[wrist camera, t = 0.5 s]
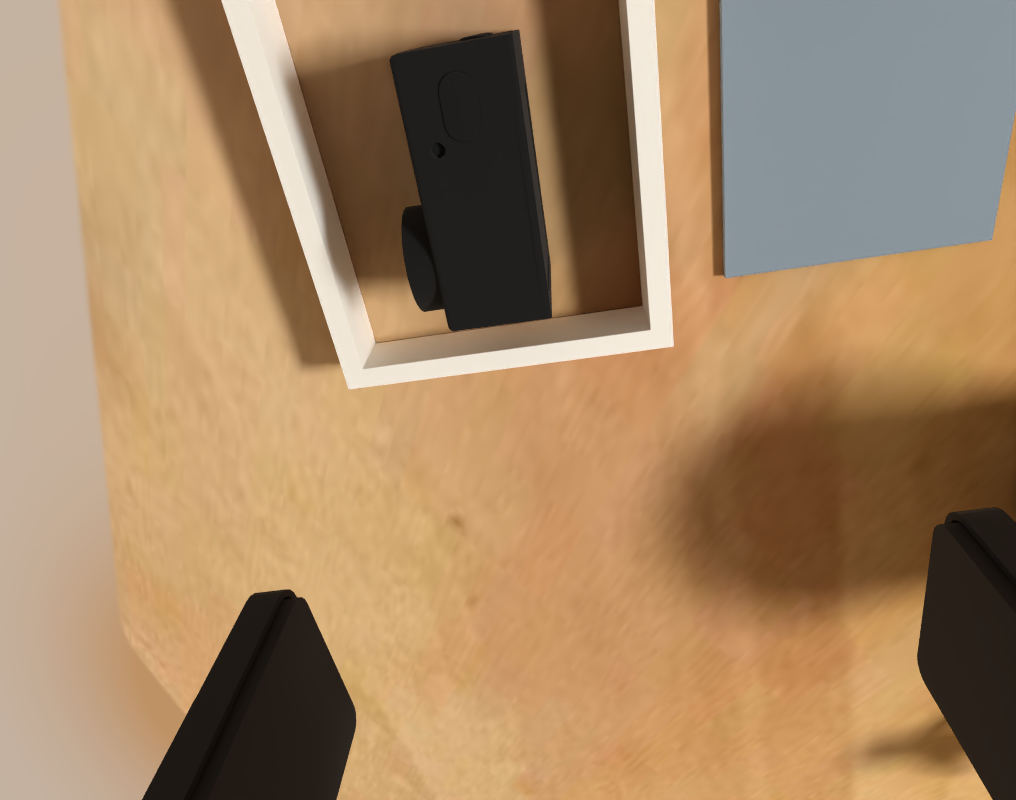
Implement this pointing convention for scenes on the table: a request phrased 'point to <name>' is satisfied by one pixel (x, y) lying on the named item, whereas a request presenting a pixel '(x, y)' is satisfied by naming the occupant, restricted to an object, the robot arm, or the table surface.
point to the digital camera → (473, 183)
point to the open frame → (472, 349)
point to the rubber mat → (861, 127)
